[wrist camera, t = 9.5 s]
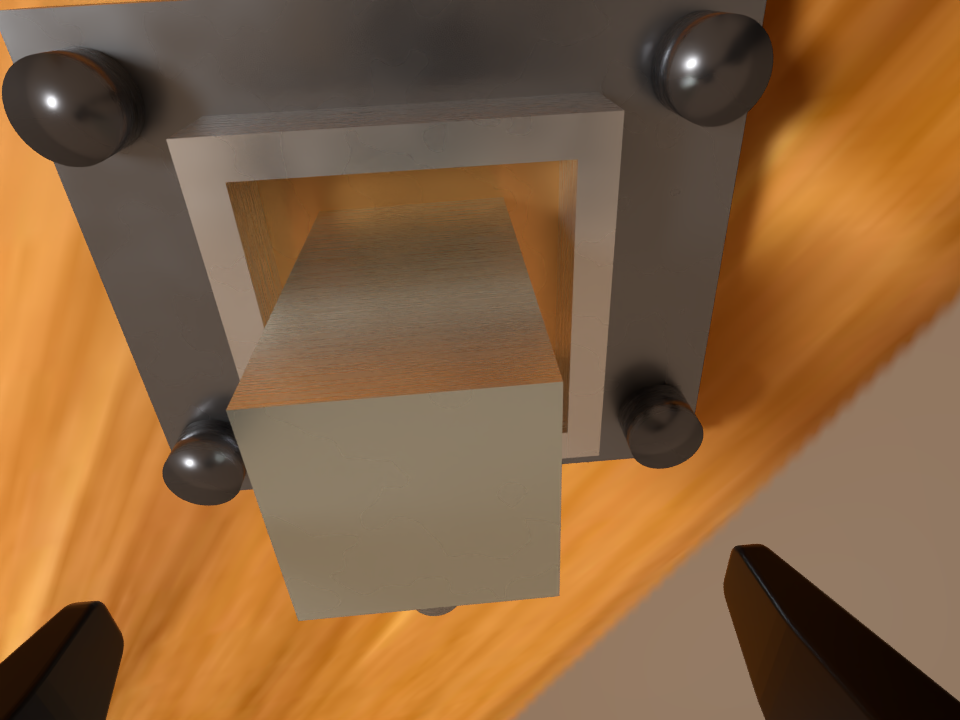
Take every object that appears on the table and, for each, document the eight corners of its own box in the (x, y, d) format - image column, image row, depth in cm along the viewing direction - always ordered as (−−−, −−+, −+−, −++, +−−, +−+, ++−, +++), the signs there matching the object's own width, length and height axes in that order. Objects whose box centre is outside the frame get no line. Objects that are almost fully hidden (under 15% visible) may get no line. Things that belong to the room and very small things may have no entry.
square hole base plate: (736, -32, 16) (830, -34, 12) (669, 420, 24) (714, 503, 20) (39, 6, 16) (-87, 17, 12) (206, 457, 24) (163, 549, 20)
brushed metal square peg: (503, 197, 17) (563, 381, 9) (510, 391, 20) (558, 642, 13) (319, 211, 17) (225, 410, 9) (358, 404, 20) (314, 666, 13)
